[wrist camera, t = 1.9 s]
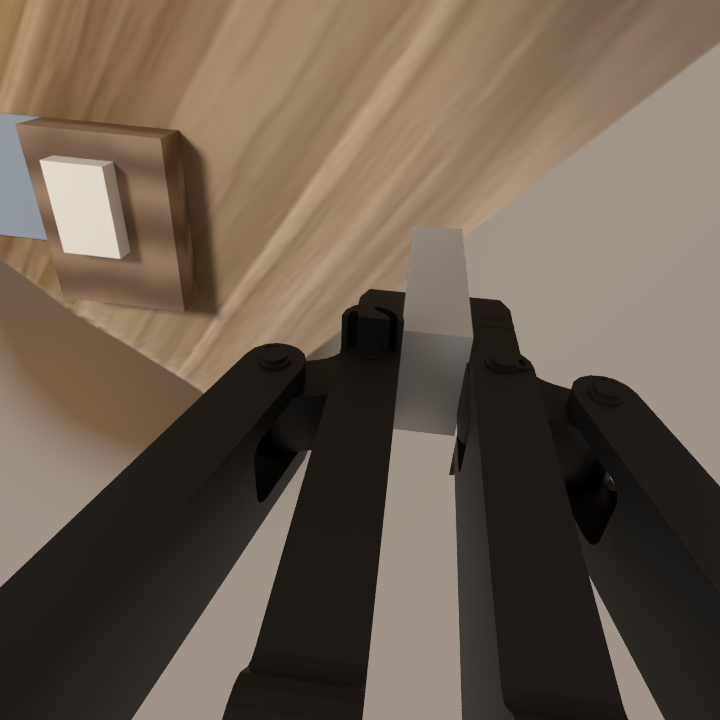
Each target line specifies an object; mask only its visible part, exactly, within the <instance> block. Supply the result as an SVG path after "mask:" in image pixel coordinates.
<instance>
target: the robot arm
mask: <svg viewBox="0 0 720 720" xmlns="http://www.w3.org/2000/svg"><path fill="white" fill-rule="evenodd" d="M456 424H457V438H456V444H455V448H454V454H453V458H452V463H451V468H450V473H449V475H454V474H455V499H456V531H457V561H458V563H457V565H458V598H459V629H460V630H459V631H460V664H461V694H462V696H461V697H462V720H628V718H627V716H626V713H625V710H624V707H623V704H622V700H621V697H620V692H619V689H618V685H617V681H616V677H615V673H614V670H613V666H612V662H611V658H610V654H609V651H608V647H607V643H606V640H605V636H604V632H603V628H602V624H601V620H600V616H599V613H598V609H597V605H596V602H595V598H594V594H593V590H592V586H591V582H590V579H589V576H590V578H591V580H592V582H593V583H594V586H595V587H596V589H597V591H598V593H599V595H600V597H601V599H602V601H603V603H604V605H605V606H606V608H607V610H608V612H609V614H610V616H611V618H612V620H613V622H614V623H615V626H616V627H617V629H618V631H619V633H620V635H621V637H622V639H623V641H624V643H625V645H626V646H627V648H628V650H629V652H630V654H631V656H632V658H633V660H634V662H635V664H636V666H637V667H638V669H639V671H640V673H641V675H642V677H643V679H644V681H645V683H646V684H647V686H648V688H649V690H650V692H651V694H652V696H653V698H654V699H655V702H656V703H657V705H658V707H659V709H660V711H661V713H662V715H663V717H664V719H665V720H720V486H719V485H718V484H717V483H716V482H715V480H714V479H713V478H712V477H711V476H710V475H709V474H708V473H707V472H706V470H705V469H704V468H703V467H702V466H701V465H700V464H699V463H698V461H697V460H696V459H695V458H694V457H693V456H692V455H691V454H690V453H689V452H688V450H687V449H686V448H685V447H684V446H683V445H682V444H681V443H680V441H679V440H678V439H677V438H676V437H675V436H674V435H673V434H672V432H671V431H670V430H669V429H668V428H667V427H666V426H665V425H664V424H663V422H662V421H661V420H660V419H659V418H658V417H657V416H656V414H655V413H654V412H653V411H652V410H651V409H650V408H649V407H648V406H647V404H646V403H645V402H644V401H643V400H642V399H641V398H640V397H639V396H638V394H637V393H635V392H634V391H633V390H632V389H631V388H629V387H628V386H626V385H625V384H623V383H620V382H619V381H617V380H615V379H612V378H608V377H604V376H592V375H590V376H584V377H580V378H578V379H577V380H575V381H574V382H573V385H572V388H571V389H568V388H564V387H561V386H558V385H554V384H551V383H549V382H546V381H544V380H541V379H540V378H538V377H536V373H535V370H534V367H533V365H532V364H531V362H530V361H529V360H528V359H526V358H525V357H524V356H522V355H521V354H520V351H519V346H518V342H517V338H516V334H515V331H514V325H513V322H512V317H511V313H510V310H509V309H508V308H507V307H506V306H505V305H504V304H503V303H502V302H501V301H500V300H491V299H480V298H471V297H469V291H468V282H467V272H466V263H465V253H464V244H463V234H462V229H454V228H442V227H431V226H419V225H414V228H413V237H412V245H411V254H410V262H409V271H408V279H407V288H406V293H405V292H395V291H385V290H375V289H370V290H368V291H367V292H366V293H365V294H363V295H362V296H361V297H360V300H359V304H358V305H355V306H352V307H351V308H349V309H347V310H346V311H345V312H344V313H343V315H342V336H341V351H340V353H339V354H337V355H335V356H333V357H330V358H327V359H321V360H313V361H306V359H305V355H304V353H303V352H302V351H301V350H299V349H298V348H296V347H293V346H291V345H287V344H280V343H274V344H272V343H271V344H265V345H262V346H259V347H255V348H254V349H252V350H251V351H249V352H248V353H246V354H245V355H244V356H243V357H242V358H241V359H240V360H239V361H238V362H237V363H236V364H235V365H234V366H233V367H232V368H231V369H230V370H229V371H227V372H226V373H225V374H224V375H223V376H222V377H221V378H220V379H219V380H218V381H217V382H216V383H215V384H214V385H213V386H212V387H211V388H210V389H209V390H207V391H206V392H205V393H204V394H203V395H202V396H201V397H200V398H199V399H198V400H197V401H196V402H195V403H194V404H193V405H192V406H191V407H190V408H189V409H187V410H186V411H185V412H184V413H183V414H182V415H181V416H180V417H179V418H178V419H177V420H176V421H175V422H174V423H173V424H172V425H171V426H170V427H169V428H167V429H166V430H165V431H164V432H163V433H162V434H161V435H160V436H159V437H158V438H157V439H156V440H155V441H154V442H153V443H152V444H151V445H150V446H149V447H148V448H146V449H145V450H144V451H143V452H142V453H141V454H140V455H139V456H138V457H137V458H136V459H135V460H134V461H133V462H132V463H131V464H130V465H129V466H128V467H127V468H125V469H124V470H123V471H122V472H121V473H120V474H119V475H118V476H117V477H116V478H115V479H114V480H113V481H112V482H111V483H110V484H109V485H108V486H107V487H105V488H104V489H103V490H102V491H101V492H100V493H99V494H98V495H97V496H96V497H95V498H94V499H93V500H92V501H91V502H90V503H89V504H88V505H86V506H85V508H83V510H81V511H80V512H79V513H78V514H77V515H76V516H75V517H74V518H73V519H72V520H71V521H70V522H69V523H68V524H67V525H65V527H63V528H62V529H61V530H60V531H59V532H58V533H57V534H56V535H55V536H54V537H53V538H52V539H51V540H50V541H49V542H48V543H47V544H45V546H43V547H42V548H41V549H40V550H39V551H38V552H37V553H36V554H35V555H34V556H33V557H32V558H31V559H30V560H29V561H28V562H27V563H26V564H24V566H22V567H21V568H20V569H19V570H18V571H17V572H16V573H15V574H14V575H13V576H12V577H11V578H10V579H9V580H8V581H7V582H6V583H5V584H3V585H2V586H1V587H0V720H131V719H132V718H133V716H134V715H135V713H136V712H137V710H138V709H139V707H140V706H141V704H142V703H143V701H144V700H145V698H146V697H147V695H148V694H149V692H150V691H151V689H152V688H153V686H154V685H155V683H156V682H157V680H158V679H159V677H160V676H161V674H162V673H163V671H164V670H165V668H166V667H167V665H168V664H169V662H170V661H171V659H172V658H173V656H174V655H175V653H176V652H177V650H178V649H179V647H180V646H181V644H182V643H183V641H184V640H185V638H186V637H187V635H188V634H189V632H190V631H191V629H192V628H193V626H194V625H195V623H196V622H197V620H198V619H199V617H200V616H201V614H202V613H203V611H204V610H205V608H206V607H207V605H208V604H209V602H210V601H211V599H212V598H213V596H214V595H215V593H216V592H217V590H218V588H219V587H220V586H221V584H222V583H223V581H224V580H225V578H226V577H227V575H228V574H229V572H230V571H231V569H232V568H233V566H234V565H235V563H236V562H237V560H238V559H239V557H240V556H241V554H242V552H243V551H244V549H245V548H246V546H247V545H248V543H249V542H250V540H251V539H252V537H253V536H254V534H255V533H256V531H257V530H258V528H259V527H260V525H261V524H262V522H263V521H264V519H265V518H266V516H267V515H268V513H269V512H270V510H271V509H272V507H273V506H274V504H275V503H276V501H277V500H278V498H279V497H280V495H281V494H282V492H283V491H284V489H285V488H286V486H287V485H288V483H289V482H290V480H291V479H292V477H293V476H294V474H295V473H296V471H297V470H298V468H299V467H300V465H301V464H302V462H303V461H304V459H305V457H306V454H307V451H308V450H312V452H311V455H310V458H309V462H308V465H307V469H306V472H305V476H304V479H303V483H302V486H301V490H300V493H299V497H298V500H297V504H296V507H295V511H294V514H293V518H292V521H291V525H290V528H289V532H288V535H287V539H286V542H285V546H284V549H283V553H282V556H281V560H280V563H279V567H278V570H277V574H276V577H275V580H274V584H273V587H272V591H271V594H270V598H269V601H268V605H267V608H266V612H265V616H264V619H263V622H262V626H261V629H260V633H259V637H258V640H257V644H256V647H255V650H254V653H253V656H252V659H251V662H250V663H249V665H248V667H246V668H245V669H244V670H242V671H241V672H240V674H239V676H238V677H237V679H236V681H235V683H234V685H233V688H232V691H231V694H230V697H229V700H228V703H227V706H226V709H225V712H224V715H223V719H222V720H362V717H363V707H364V698H365V688H366V679H367V669H368V659H369V650H370V641H371V631H372V622H373V613H374V603H375V593H376V584H377V575H378V565H379V556H380V546H381V537H382V528H383V518H384V508H385V499H386V490H387V481H388V471H389V462H390V452H391V443H392V433H393V429H401V430H408V431H417V432H425V433H434V434H442V435H451V436H454V434H455V429H456ZM610 477H611V478H612V480H613V481H612V480H611V478H610ZM613 482H614V483H613ZM588 574H589V575H588Z"/></svg>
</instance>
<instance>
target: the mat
mask: <svg viewBox="0 0 720 720" xmlns="http://www.w3.org/2000/svg"><path fill="white" fill-rule="evenodd" d="M36 118H40V117H37V116H27V115H17V114H6V113H0V235H8V236H16V237H25V238H34V239H42V240H47V236H46V233H45V229H44V226H43V222H42V218H41V215H40V211H39V208H38V204H37V201H36V197H35V193H34V190H33V186H32V183H31V179H30V176H29V172H28V169H27V165H26V161H25V158H24V154H23V151H22V147H21V144H20V140H19V136H18V133H17V129H16V126H15V124H17V123H21V122H25V121H29V120H33V119H36Z"/></svg>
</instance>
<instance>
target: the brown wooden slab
mask: <svg viewBox="0 0 720 720" xmlns="http://www.w3.org/2000/svg"><path fill="white" fill-rule="evenodd" d="M15 126H16V129H17V133H18V136H19V140H20V144H21V147H22V151H23V154H24V158H25V161H26V165H27V169H28V172H29V176H30V179H31V183H32V186H33V190H34V193H35V197H36V201H37V204H38V208H39V211H40V215H41V218H42V222H43V226H44V229H45V233H46V236H47V240H48V243H49V247H50V251H51V254H52V258H53V261H54V265H55V268H56V272H57V275H58V279H59V283H60V286H61V290H62V293H63V297H65V298H73V299H81V300H89V301H97V302H106V303H114V304H122V305H130V306H138V307H146V308H154V309H162V310H171V311H179V312H185V311H186V310H187V309H188V307H189V306H190V305H191V304H192V303H193V302H194V300H195V299H196V298H197V297H198V290H197V281H196V273H195V265H194V256H193V248H192V239H191V231H190V223H189V214H188V206H187V197H186V189H185V181H184V172H183V164H182V155H181V147H180V139H179V130H169V129H159V128H148V127H138V126H128V125H118V124H108V123H98V122H88V121H77V120H67V119H57V118H47V117H40V118H36V119H33V120H29V121H25V122H21V123H17V124H15ZM52 155H54V156H64V157H73V158H83V159H93V160H102V161H112V162H113V163H114V169H115V174H116V179H117V184H118V190H119V195H120V200H121V205H122V211H123V216H124V221H125V226H126V232H127V237H128V242H129V247H130V252H129V253H128V254H127V255H125V256H124V257H123V258H121V259H116V258H107V257H99V256H90V255H82V254H73V253H65V252H64V251H63V247H62V243H61V239H60V236H59V232H58V228H57V224H56V221H55V217H54V213H53V209H52V206H51V202H50V198H49V194H48V191H47V187H46V183H45V179H44V175H43V172H42V168H41V164H40V160H41V159H44V158H47V157H50V156H52Z"/></svg>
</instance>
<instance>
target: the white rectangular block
mask: <svg viewBox="0 0 720 720" xmlns="http://www.w3.org/2000/svg"><path fill="white" fill-rule="evenodd" d="M40 164H41V168H42V172H43V175H44V179H45V183H46V187H47V191H48V194H49V198H50V202H51V206H52V209H53V213H54V217H55V221H56V224H57V228H58V232H59V236H60V239H61V243H62V247H63V251H64V252H65V253H73V254H82V255H90V256H99V257H107V258H116V259H121V258H123V257H124V256H125V255H127V254H128V253H129V252H130V247H129V242H128V237H127V232H126V226H125V221H124V216H123V211H122V205H121V200H120V195H119V190H118V184H117V179H116V174H115V169H114V163H113V162H112V161H102V160H93V159H83V158H73V157H64V156H54V155H52V156H50V157H47V158H44V159H41V160H40Z"/></svg>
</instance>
